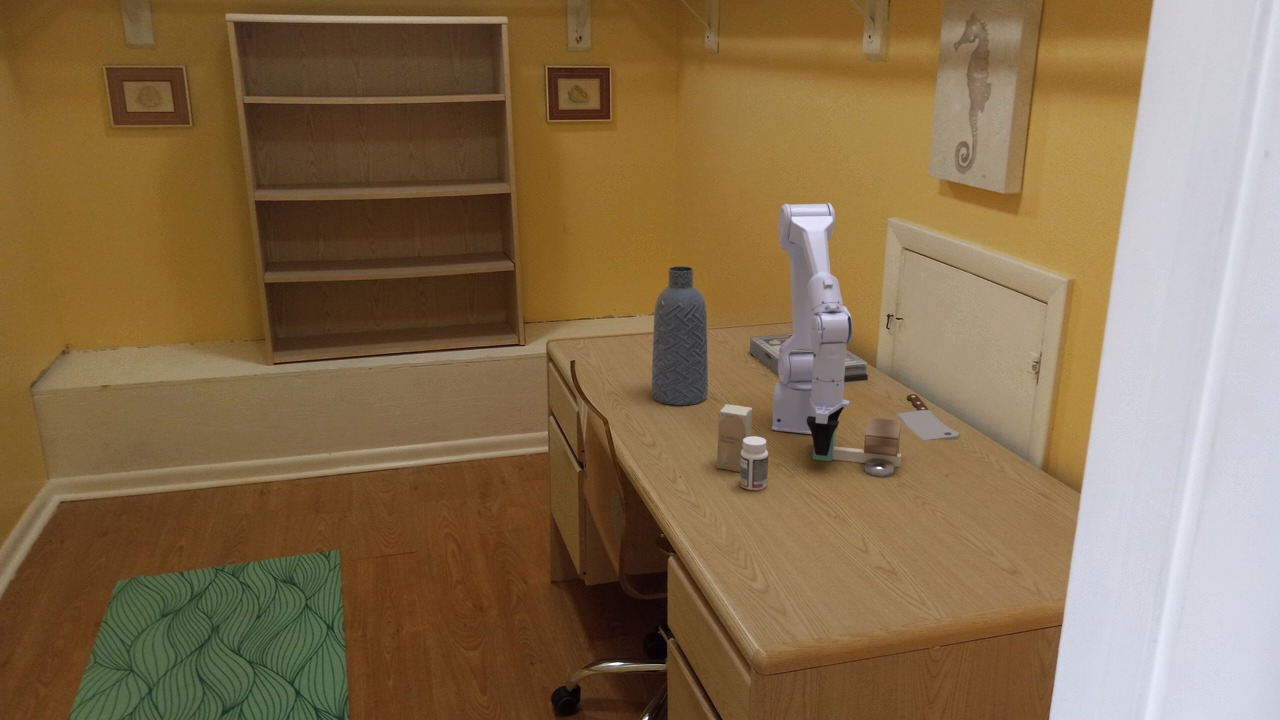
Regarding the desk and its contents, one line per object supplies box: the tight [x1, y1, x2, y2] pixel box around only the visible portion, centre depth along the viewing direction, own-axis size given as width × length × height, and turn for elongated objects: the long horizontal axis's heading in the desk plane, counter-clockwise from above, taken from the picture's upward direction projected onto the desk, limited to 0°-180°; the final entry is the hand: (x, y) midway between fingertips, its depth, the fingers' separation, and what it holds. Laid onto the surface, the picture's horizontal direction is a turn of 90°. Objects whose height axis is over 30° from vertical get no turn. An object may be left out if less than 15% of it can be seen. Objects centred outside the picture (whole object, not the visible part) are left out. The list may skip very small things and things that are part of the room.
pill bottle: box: [739, 435, 769, 491], centre depth 172 cm, size 5×5×8 cm
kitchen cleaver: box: [895, 393, 961, 441], centre depth 204 cm, size 24×1×10 cm
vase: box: [650, 266, 709, 406], centre depth 212 cm, size 12×12×28 cm
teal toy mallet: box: [812, 428, 902, 468], centre depth 182 cm, size 16×4×6 cm, turn 73°
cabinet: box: [863, 417, 902, 457], centre depth 181 cm, size 6×9×7 cm, turn 163°
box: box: [716, 403, 753, 473], centre depth 179 cm, size 5×4×11 cm
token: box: [864, 459, 895, 478], centre depth 179 cm, size 5×5×2 cm
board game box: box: [749, 333, 869, 383], centre depth 237 cm, size 18×27×4 cm
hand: (824, 447), depth 184 cm, fingers open, 7 cm apart
